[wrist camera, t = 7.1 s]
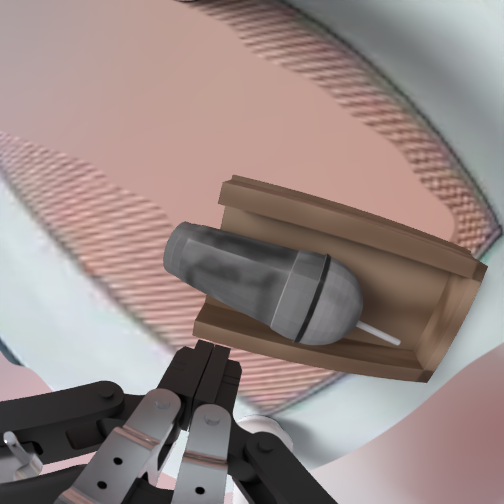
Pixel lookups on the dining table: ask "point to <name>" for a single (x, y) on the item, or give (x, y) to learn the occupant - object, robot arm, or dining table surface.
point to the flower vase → (256, 425)
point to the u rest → (367, 273)
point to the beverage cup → (271, 283)
